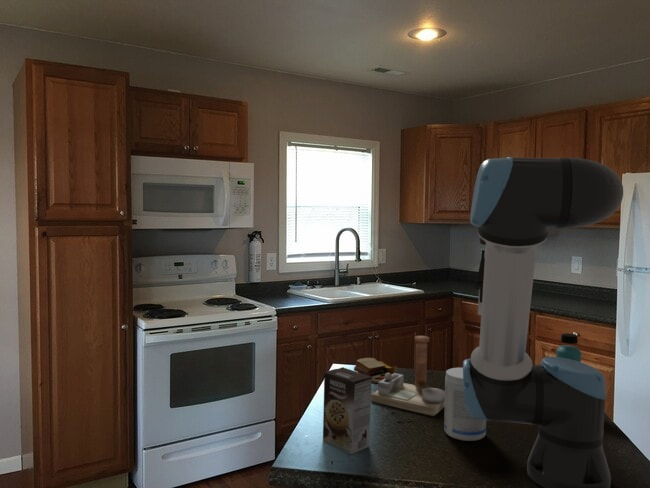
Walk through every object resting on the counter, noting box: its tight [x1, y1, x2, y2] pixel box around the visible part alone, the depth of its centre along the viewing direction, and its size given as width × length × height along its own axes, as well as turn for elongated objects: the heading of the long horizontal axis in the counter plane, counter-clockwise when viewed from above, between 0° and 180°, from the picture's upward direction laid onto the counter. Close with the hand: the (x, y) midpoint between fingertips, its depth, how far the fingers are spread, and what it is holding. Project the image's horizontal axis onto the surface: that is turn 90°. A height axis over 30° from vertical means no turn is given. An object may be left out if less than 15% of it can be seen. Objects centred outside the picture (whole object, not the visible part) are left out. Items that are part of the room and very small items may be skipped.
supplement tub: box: [443, 367, 487, 442], centre depth 129 cm, size 10×10×15 cm
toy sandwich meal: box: [353, 357, 397, 384], centre depth 171 cm, size 12×14×5 cm
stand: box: [371, 372, 445, 417], centre depth 150 cm, size 14×18×7 cm
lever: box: [414, 335, 445, 403], centre depth 149 cm, size 14×6×14 cm, turn 12°
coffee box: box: [322, 367, 373, 455], centre depth 122 cm, size 9×6×16 cm
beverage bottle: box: [555, 333, 582, 363], centre depth 147 cm, size 6×7×20 cm
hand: (491, 310), depth 143 cm, fingers open, 13 cm apart
